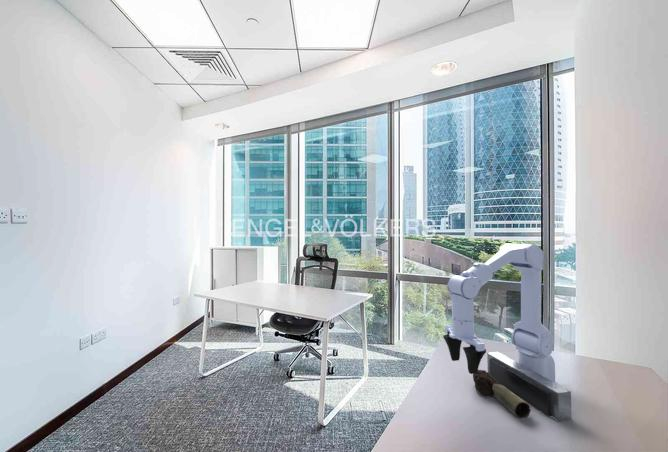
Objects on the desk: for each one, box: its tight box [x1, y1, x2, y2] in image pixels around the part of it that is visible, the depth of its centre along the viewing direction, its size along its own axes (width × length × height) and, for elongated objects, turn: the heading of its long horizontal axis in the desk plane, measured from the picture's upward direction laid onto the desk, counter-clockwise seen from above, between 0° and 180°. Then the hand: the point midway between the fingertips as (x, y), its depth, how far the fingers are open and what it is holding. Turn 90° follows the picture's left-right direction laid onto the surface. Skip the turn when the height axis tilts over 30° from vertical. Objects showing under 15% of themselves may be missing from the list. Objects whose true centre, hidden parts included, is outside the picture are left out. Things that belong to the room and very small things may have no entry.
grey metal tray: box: [486, 351, 573, 422], centre depth 82 cm, size 5×24×7 cm, turn 12°
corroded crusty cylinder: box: [472, 369, 532, 419], centre depth 80 cm, size 18×7×6 cm, turn 10°
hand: (463, 366), depth 80 cm, fingers open, 7 cm apart
